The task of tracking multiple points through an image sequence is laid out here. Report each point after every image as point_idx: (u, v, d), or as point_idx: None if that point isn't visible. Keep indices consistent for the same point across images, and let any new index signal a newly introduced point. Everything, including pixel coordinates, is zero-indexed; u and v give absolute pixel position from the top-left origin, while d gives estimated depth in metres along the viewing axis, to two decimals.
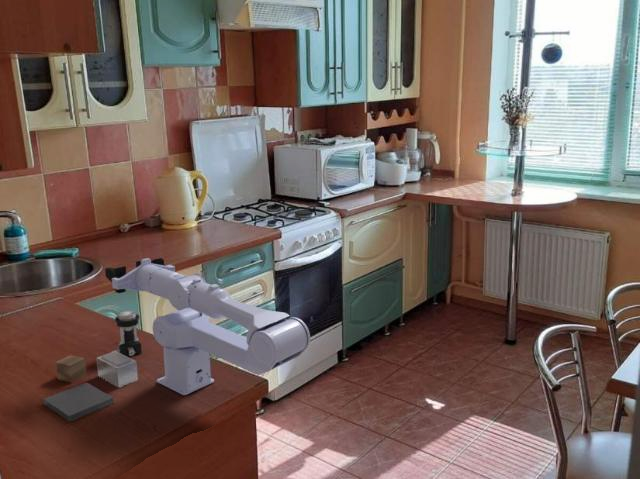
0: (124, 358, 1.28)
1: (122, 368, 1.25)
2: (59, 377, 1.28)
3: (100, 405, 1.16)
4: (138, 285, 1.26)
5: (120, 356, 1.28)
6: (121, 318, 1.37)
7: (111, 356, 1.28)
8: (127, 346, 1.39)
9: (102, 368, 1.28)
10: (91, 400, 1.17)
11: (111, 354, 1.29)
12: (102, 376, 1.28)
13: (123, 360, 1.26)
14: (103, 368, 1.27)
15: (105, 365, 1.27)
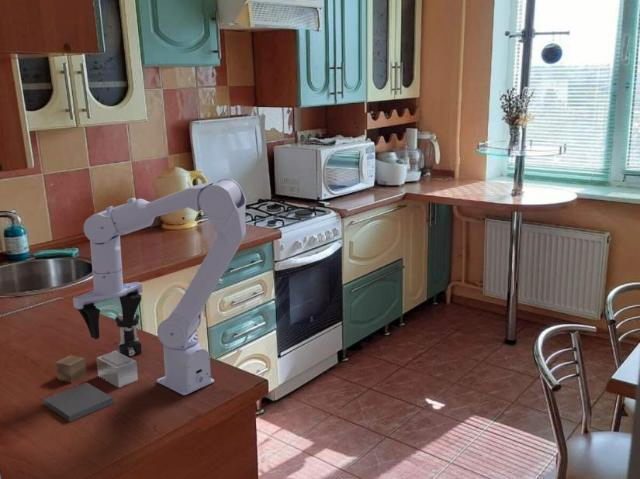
0: (124, 358, 1.28)
1: (122, 368, 1.25)
2: (59, 377, 1.28)
3: (100, 405, 1.16)
4: (99, 292, 1.21)
5: (120, 356, 1.28)
6: (121, 318, 1.37)
7: (111, 356, 1.28)
8: (127, 346, 1.39)
9: (102, 368, 1.28)
10: (91, 400, 1.17)
11: (111, 354, 1.29)
12: (102, 376, 1.28)
13: (123, 360, 1.26)
14: (103, 368, 1.27)
15: (105, 365, 1.27)
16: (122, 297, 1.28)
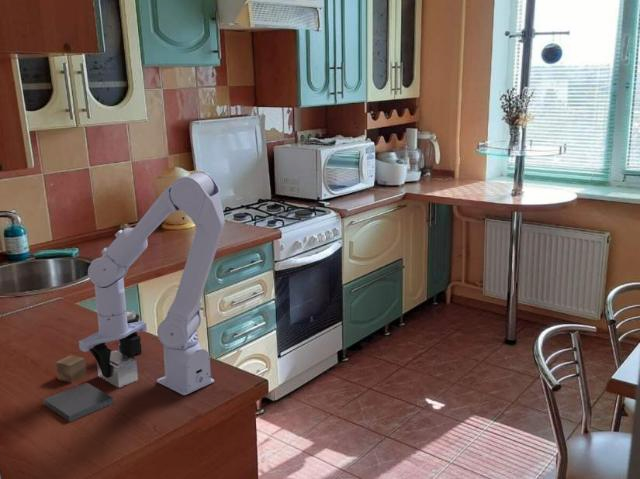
0: (124, 357, 1.28)
1: (122, 368, 1.24)
2: (59, 377, 1.28)
3: (100, 405, 1.16)
4: (104, 334, 1.24)
5: (120, 355, 1.28)
6: None
7: (111, 355, 1.28)
8: None
9: None
10: (91, 400, 1.17)
11: (111, 353, 1.29)
12: (102, 375, 1.28)
13: (123, 359, 1.26)
14: None
15: None
16: (121, 338, 1.29)
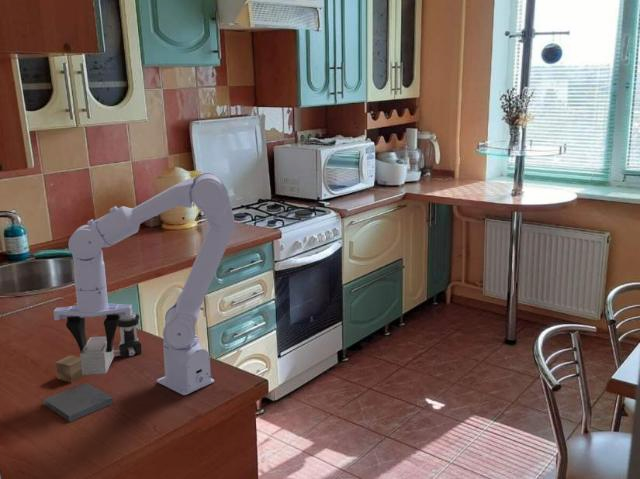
0: (101, 345, 1.21)
1: (86, 356, 1.18)
2: (59, 377, 1.28)
3: (100, 405, 1.16)
4: (77, 307, 1.18)
5: (101, 343, 1.22)
6: (121, 318, 1.37)
7: (97, 340, 1.23)
8: (127, 346, 1.39)
9: None
10: (91, 400, 1.17)
11: (101, 338, 1.24)
12: None
13: (95, 347, 1.20)
14: None
15: None
16: None
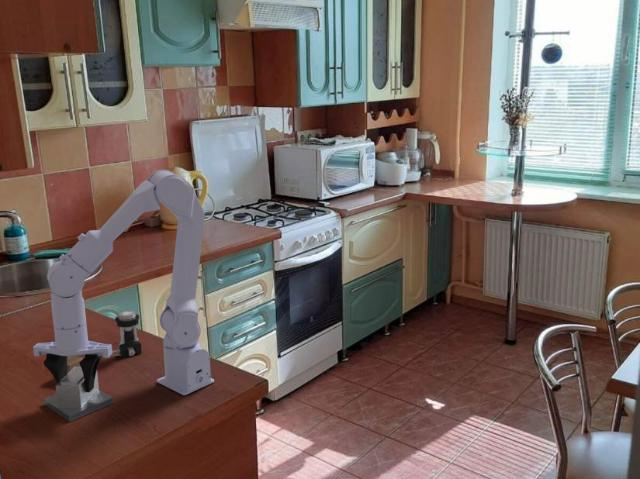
0: (79, 377, 1.16)
1: (62, 388, 1.14)
2: None
3: (100, 405, 1.16)
4: None
5: (81, 374, 1.17)
6: (121, 318, 1.37)
7: (79, 371, 1.19)
8: (127, 346, 1.39)
9: None
10: (91, 400, 1.17)
11: None
12: None
13: (73, 380, 1.15)
14: None
15: None
16: None
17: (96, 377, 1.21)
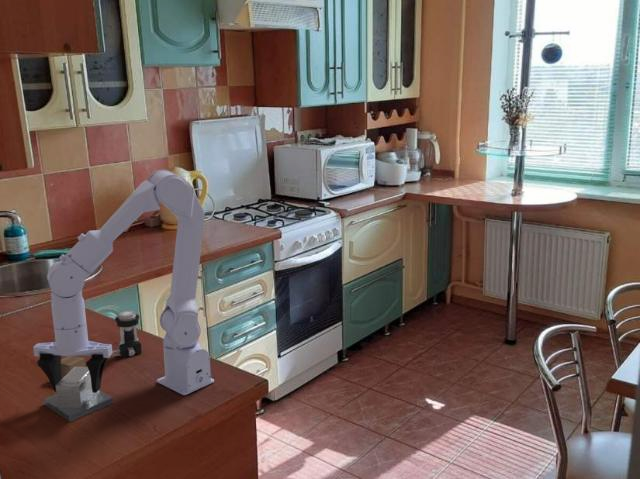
0: (79, 377, 1.16)
1: (62, 388, 1.14)
2: None
3: (100, 405, 1.16)
4: None
5: (81, 374, 1.17)
6: (121, 318, 1.37)
7: (79, 371, 1.19)
8: (127, 346, 1.39)
9: None
10: (91, 400, 1.17)
11: (83, 369, 1.19)
12: None
13: (73, 380, 1.15)
14: None
15: None
16: None
17: None
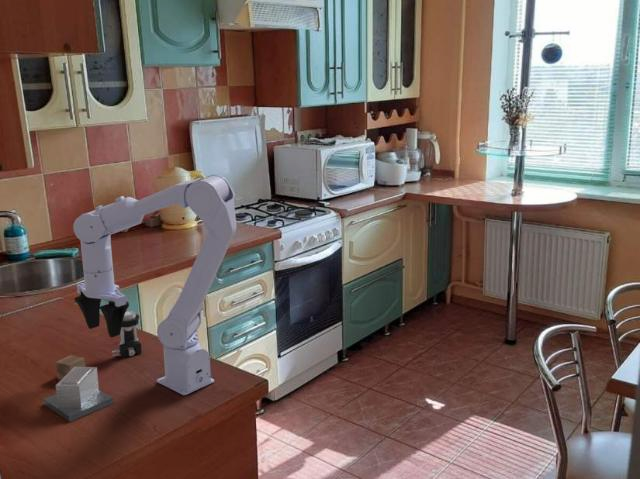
0: (79, 377, 1.16)
1: (62, 388, 1.14)
2: (59, 377, 1.28)
3: (100, 405, 1.16)
4: None
5: (81, 374, 1.17)
6: None
7: (79, 371, 1.19)
8: (127, 346, 1.39)
9: None
10: (91, 400, 1.17)
11: (83, 369, 1.19)
12: None
13: (73, 380, 1.15)
14: None
15: None
16: None
17: (96, 377, 1.21)
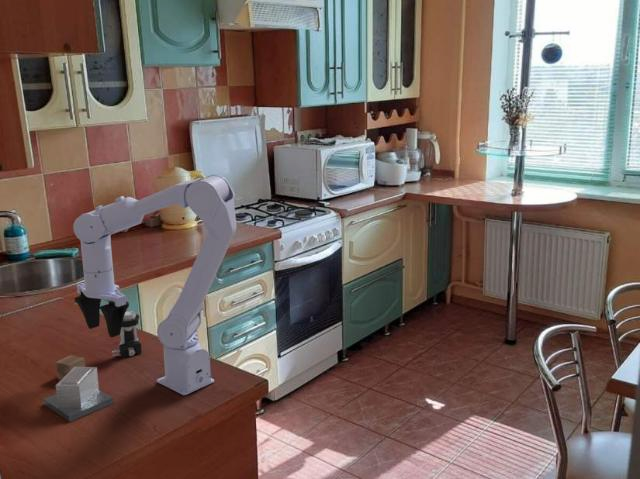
0: (79, 377, 1.16)
1: (62, 388, 1.14)
2: (59, 377, 1.28)
3: (100, 405, 1.16)
4: None
5: (81, 374, 1.17)
6: None
7: (79, 371, 1.19)
8: (127, 346, 1.39)
9: None
10: (91, 400, 1.17)
11: (83, 369, 1.19)
12: None
13: (73, 380, 1.15)
14: None
15: None
16: None
17: (96, 377, 1.21)
